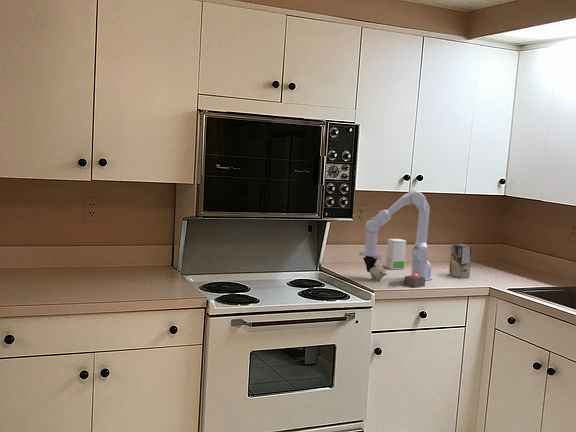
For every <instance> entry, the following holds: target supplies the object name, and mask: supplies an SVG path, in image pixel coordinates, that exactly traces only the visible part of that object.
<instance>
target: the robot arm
mask: <svg viewBox="0 0 576 432" xmlns="http://www.w3.org/2000/svg"><path fill="white" fill-rule="evenodd" d="M410 205H414V206H415V207H416V208H417V210H418V220H417V226H416V227H417V228H416V229H417V230H416V239H415V243H414V246H413V249H412V250H411V255H412V257H413V258H412V260H411V261H412V262H411V274H410V276H411V275H412V274H413V273H417V274H418V275H419V276H421V277H424V278H425V281H431V280H432V277H431V275H432V264H431V262H429V261H428V259H429V257H430V255H429V252H428V244H427V243H428V242H427V240H428V231H429V221H430V219H429V218H430V209H431V208H430V205H429V203H428V201H427V198H426V196H425V195H424V194H423V193H422V192H421V191H417V190H414V189H411V190H409V191H408V192H407V193H405V194H403V196H401V197H400V198H399V199H398V200H396V201H395V202H394V203H393V204H392V205H391V206H389V207H388V209H382V210H379V211H378V214H376V215H375V216H372V217H371V218H370V219H369V220H367V221H366V223H365V225H364V227H365V242H364V243H365V244H364V251H363V250H360V251H358V255H359V256H364V257H362V258H363V261H364V264H365V269H366V271H367V273H370V270H368V269H371V268H372V267H373V266H374V265H376V264H377V262H378V261H382V260H383V255H381V254H378V253H377V252H378V251H377V250H378V248H377V247H378V232H379V230H380V228H381V227H382V226H384V225H385V224H386V223H388V222H389V221H390V220H391V219H392V215H393V214H394V213H396V212H398V211H399V210H400V209H402V208H403V207H404V206H410ZM375 263H376V264H375Z"/></svg>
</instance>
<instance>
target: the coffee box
mask: <svg viewBox="0 0 576 432" xmlns="http://www.w3.org/2000/svg"><path fill="white" fill-rule="evenodd" d="M449 256H450V257H449V270H448V271H449V272H448V273H449V276H452V277H453V276H454V277H456V278H459V279H463V278H466V279H467V278H470V276H471V260H472V246H471V245H468V244H467V245H466V244H464V243H463V244H462V243H451V244H450V255H449Z"/></svg>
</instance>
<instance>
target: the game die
mask: <svg viewBox="0 0 576 432" xmlns="http://www.w3.org/2000/svg"><path fill="white" fill-rule="evenodd" d="M368 270H370V272H369V273H370V274H369V275H370V276H371V279H370V280H373V279H374V280H378V282H380V280H382V278H384V277H385V276H388V274H387V273H386V270H385V264H383V265H380V264H377V262H376V263H375V264H374V266H373V267H372V268H371V269H368Z"/></svg>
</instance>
